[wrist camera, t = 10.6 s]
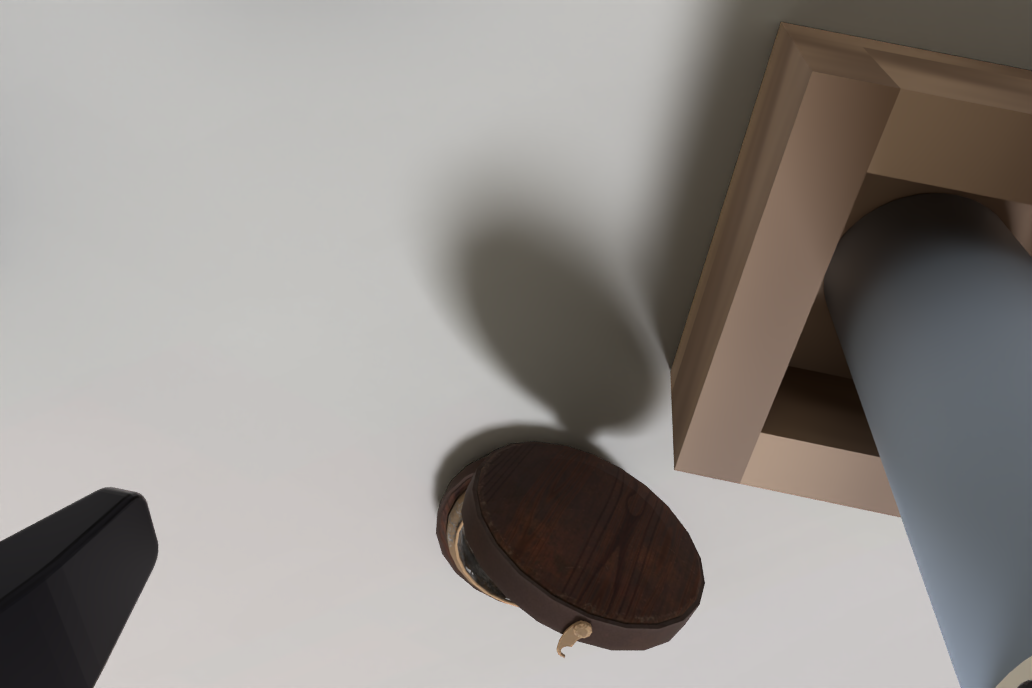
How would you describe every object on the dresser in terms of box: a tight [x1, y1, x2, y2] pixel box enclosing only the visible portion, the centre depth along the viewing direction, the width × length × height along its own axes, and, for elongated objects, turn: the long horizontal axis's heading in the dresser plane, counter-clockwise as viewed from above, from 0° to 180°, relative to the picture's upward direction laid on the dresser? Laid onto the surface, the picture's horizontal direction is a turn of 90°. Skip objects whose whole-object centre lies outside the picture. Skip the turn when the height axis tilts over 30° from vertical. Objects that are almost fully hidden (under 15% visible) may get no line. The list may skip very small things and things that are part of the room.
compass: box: [436, 441, 705, 658], centre depth 23 cm, size 8×8×7 cm
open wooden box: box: [670, 22, 1032, 517], centre depth 18 cm, size 9×9×4 cm
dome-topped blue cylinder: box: [824, 193, 1032, 688], centre depth 14 cm, size 4×4×13 cm
